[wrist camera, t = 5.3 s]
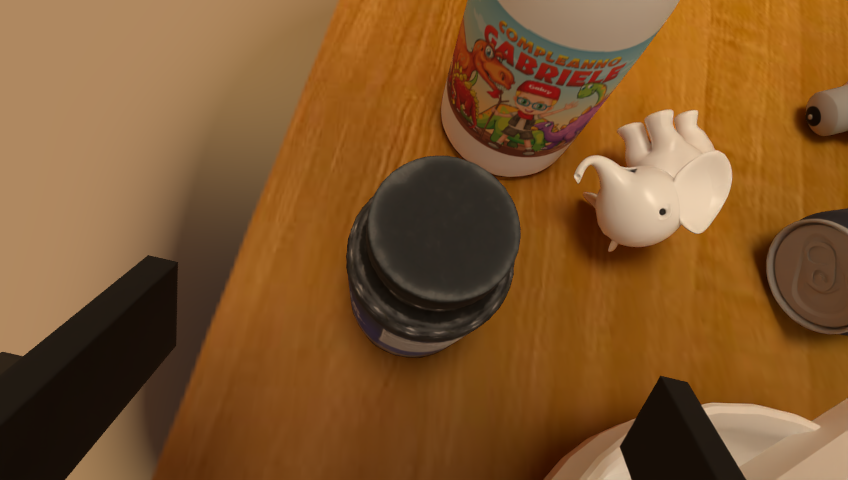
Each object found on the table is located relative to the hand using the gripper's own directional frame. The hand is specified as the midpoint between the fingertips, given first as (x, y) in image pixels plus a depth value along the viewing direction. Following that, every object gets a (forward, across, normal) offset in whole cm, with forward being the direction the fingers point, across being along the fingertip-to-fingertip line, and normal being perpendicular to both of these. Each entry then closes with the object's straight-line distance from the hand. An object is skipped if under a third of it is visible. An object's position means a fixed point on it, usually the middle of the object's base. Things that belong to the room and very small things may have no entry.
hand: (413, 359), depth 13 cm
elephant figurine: (+16, +9, +6) cm, 19 cm away
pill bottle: (+11, 0, -5) cm, 12 cm away
